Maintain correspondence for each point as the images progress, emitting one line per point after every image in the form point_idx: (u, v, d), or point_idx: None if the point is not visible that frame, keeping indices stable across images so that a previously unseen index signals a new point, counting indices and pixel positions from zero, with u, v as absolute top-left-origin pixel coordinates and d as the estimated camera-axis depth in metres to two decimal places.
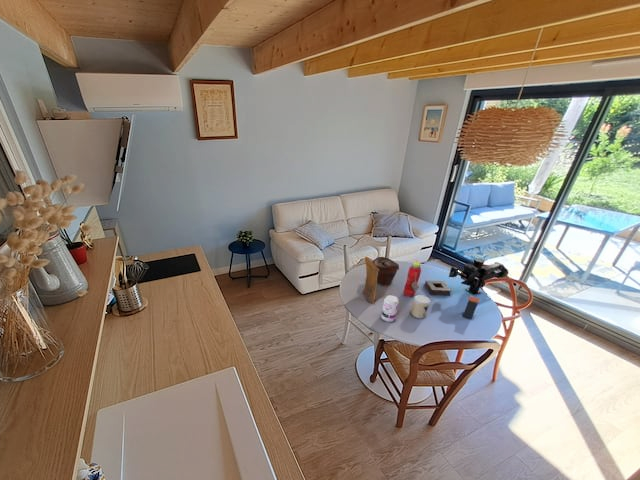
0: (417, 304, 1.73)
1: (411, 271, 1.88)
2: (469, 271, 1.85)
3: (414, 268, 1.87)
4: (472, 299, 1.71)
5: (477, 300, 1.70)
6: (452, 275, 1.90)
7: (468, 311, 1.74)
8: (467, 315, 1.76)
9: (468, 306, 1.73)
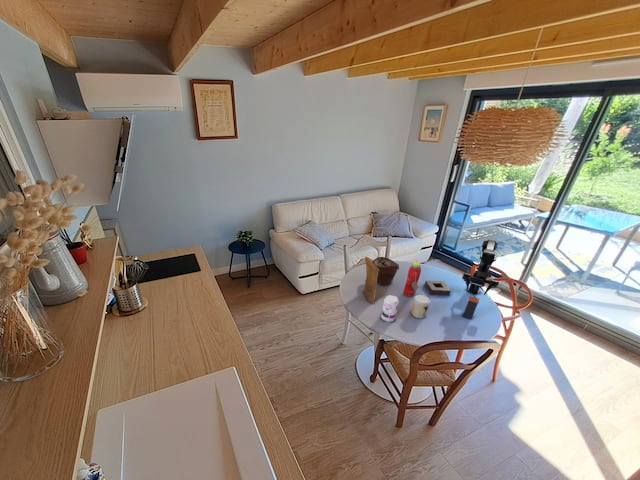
0: (417, 304, 1.73)
1: (411, 271, 1.88)
2: None
3: (414, 268, 1.87)
4: (472, 299, 1.71)
5: (477, 300, 1.70)
6: (468, 285, 1.80)
7: (468, 311, 1.74)
8: (467, 315, 1.76)
9: (468, 306, 1.73)
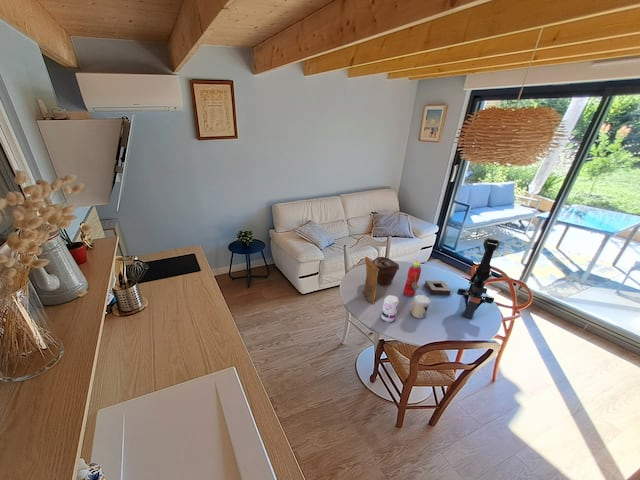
0: (417, 304, 1.73)
1: (411, 271, 1.88)
2: None
3: (414, 268, 1.87)
4: (473, 299, 1.71)
5: (478, 300, 1.70)
6: (467, 301, 1.76)
7: (468, 311, 1.74)
8: (467, 315, 1.76)
9: (468, 306, 1.73)
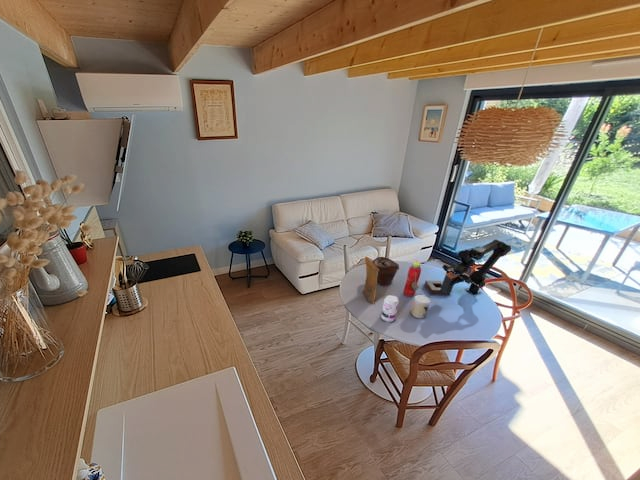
0: (417, 304, 1.73)
1: (411, 271, 1.88)
2: None
3: (414, 268, 1.87)
4: (449, 274, 1.83)
5: (453, 276, 1.81)
6: None
7: (444, 285, 1.87)
8: (443, 289, 1.88)
9: (444, 280, 1.86)
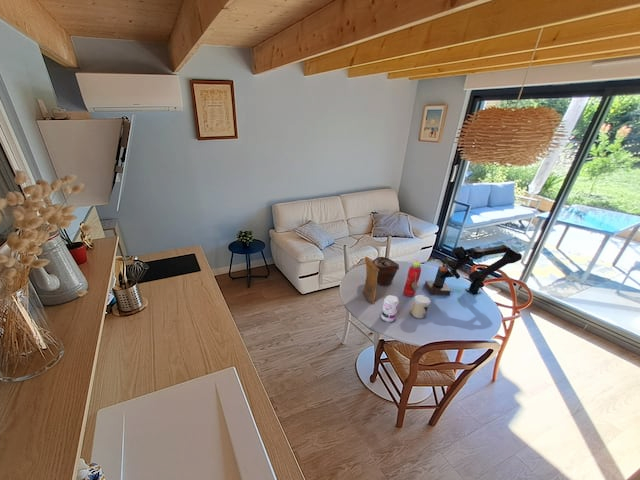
0: (417, 304, 1.73)
1: (411, 271, 1.88)
2: None
3: (414, 268, 1.87)
4: (441, 267, 1.95)
5: (443, 269, 1.93)
6: None
7: (436, 277, 2.00)
8: (435, 281, 2.01)
9: (437, 273, 1.99)
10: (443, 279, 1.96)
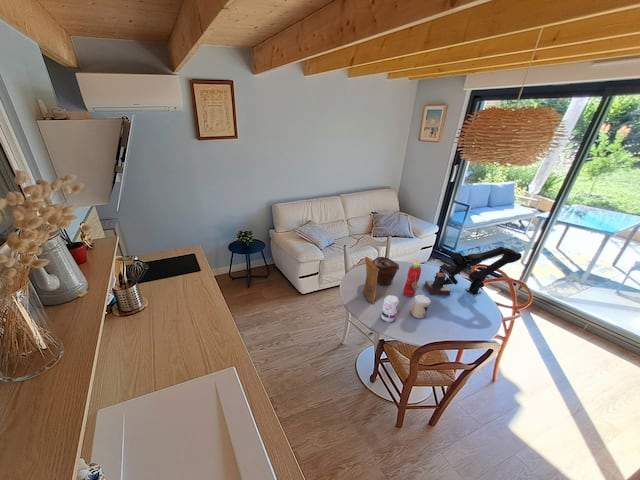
0: (417, 304, 1.73)
1: (411, 271, 1.88)
2: None
3: (414, 268, 1.87)
4: (439, 273, 1.98)
5: (441, 275, 1.96)
6: None
7: (434, 283, 2.02)
8: None
9: (435, 278, 2.01)
10: (441, 285, 1.99)
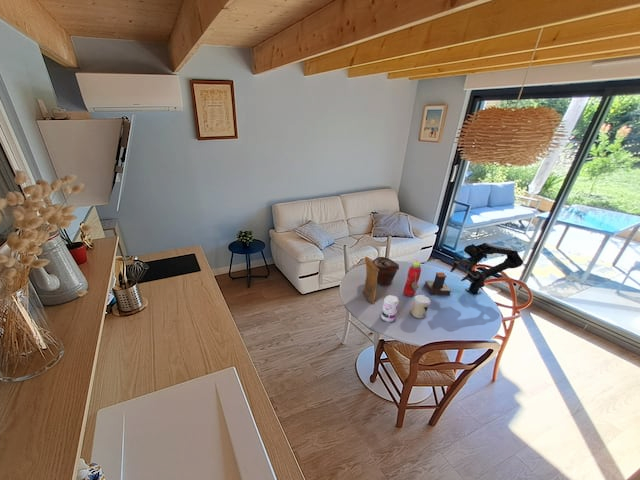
0: (417, 304, 1.73)
1: (411, 271, 1.88)
2: None
3: (414, 268, 1.87)
4: (439, 273, 1.98)
5: (441, 275, 1.96)
6: (454, 268, 1.97)
7: (434, 283, 2.02)
8: None
9: (435, 278, 2.01)
10: (441, 285, 1.99)
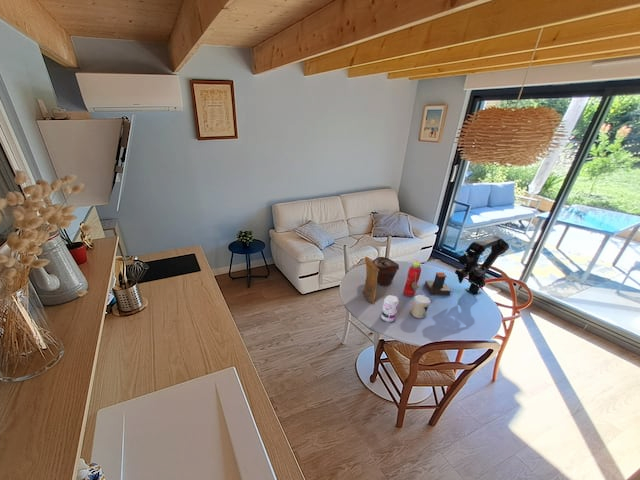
0: (417, 304, 1.73)
1: (411, 271, 1.88)
2: None
3: (414, 268, 1.87)
4: (439, 273, 1.98)
5: (441, 275, 1.96)
6: None
7: (434, 283, 2.02)
8: None
9: (435, 278, 2.01)
10: (441, 285, 1.99)
